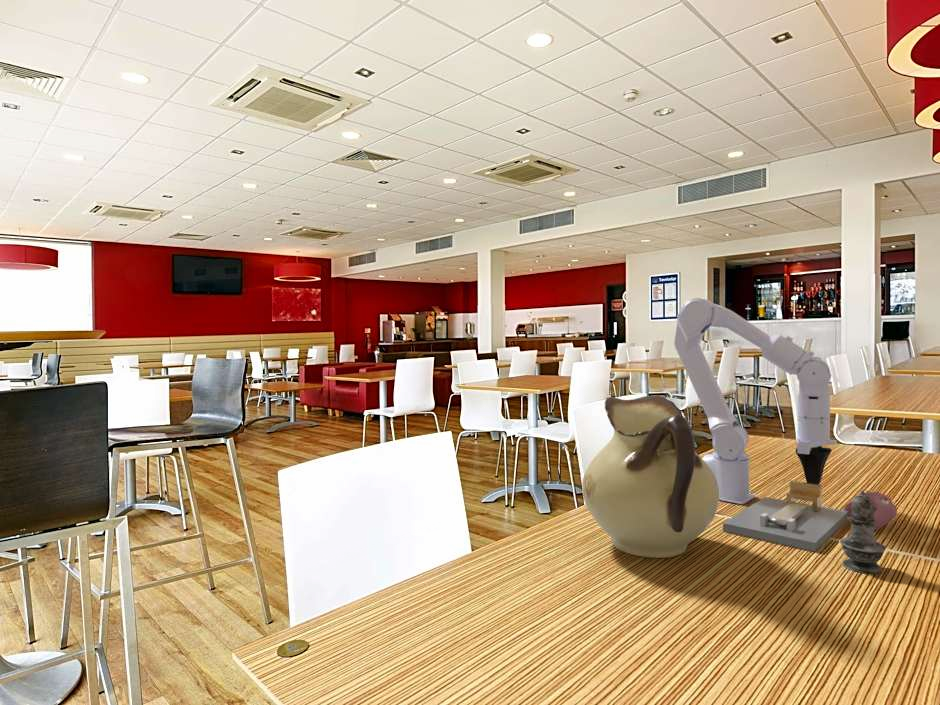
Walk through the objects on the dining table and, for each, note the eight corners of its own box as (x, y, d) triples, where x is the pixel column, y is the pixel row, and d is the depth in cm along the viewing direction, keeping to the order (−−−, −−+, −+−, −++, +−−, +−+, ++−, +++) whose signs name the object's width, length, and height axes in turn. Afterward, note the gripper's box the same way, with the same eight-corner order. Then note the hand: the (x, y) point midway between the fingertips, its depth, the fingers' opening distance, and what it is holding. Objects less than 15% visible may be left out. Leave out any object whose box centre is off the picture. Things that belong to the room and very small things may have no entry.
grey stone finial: (878, 561, 93) (879, 486, 92) (891, 577, 87) (892, 496, 87) (835, 557, 95) (835, 483, 94) (845, 572, 89) (845, 494, 89)
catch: (786, 505, 117) (786, 483, 117) (791, 502, 119) (791, 480, 119) (817, 511, 113) (817, 488, 113) (821, 507, 115) (821, 484, 115)
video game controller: (887, 541, 106) (907, 507, 105) (861, 528, 106) (881, 495, 105) (862, 523, 115) (881, 491, 114) (839, 511, 116) (857, 480, 115)
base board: (723, 531, 108) (722, 513, 108) (765, 503, 124) (765, 488, 123) (815, 551, 97) (815, 532, 97) (848, 519, 113) (848, 502, 113)
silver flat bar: (767, 523, 106) (767, 517, 106) (789, 507, 115) (789, 502, 115) (785, 527, 104) (785, 521, 104) (807, 510, 112) (807, 505, 112)
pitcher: (626, 515, 118) (624, 390, 117) (748, 545, 101) (748, 400, 100) (557, 547, 102) (555, 404, 101) (689, 589, 85) (688, 417, 84)
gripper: (826, 423, 112) (825, 494, 112) (845, 414, 122) (845, 479, 123) (785, 420, 117) (785, 488, 117) (807, 411, 127) (807, 474, 128)
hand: (813, 483), depth 120 cm, fingers closed
